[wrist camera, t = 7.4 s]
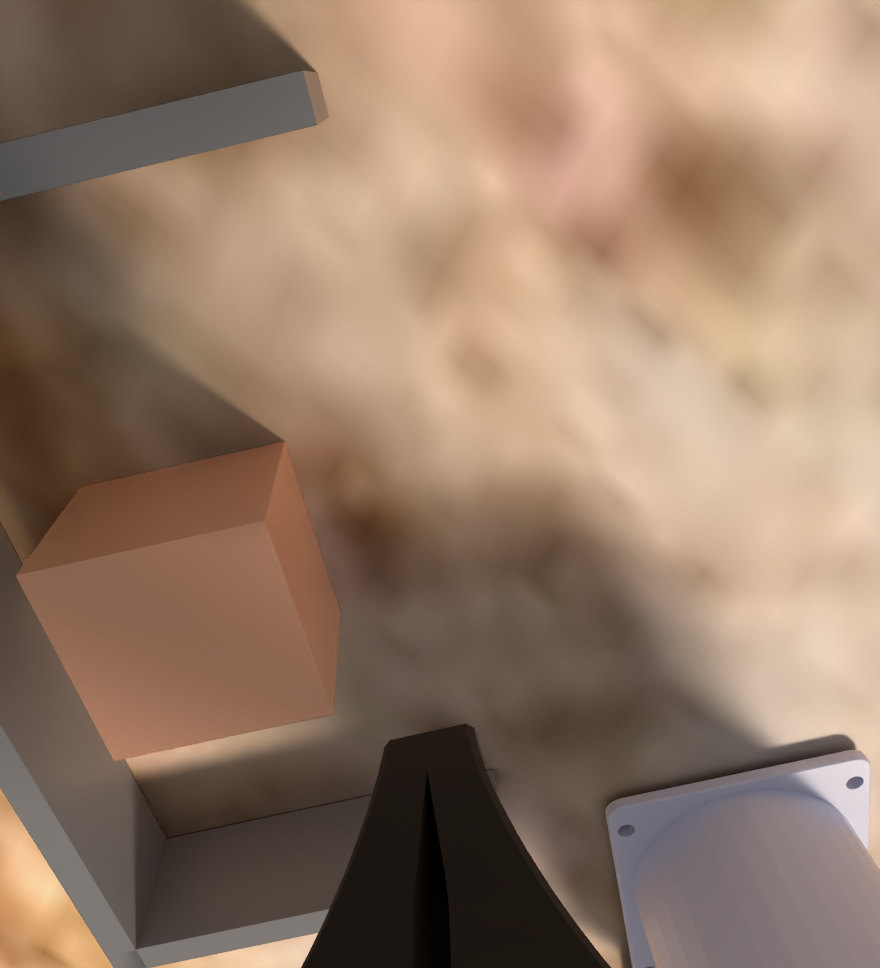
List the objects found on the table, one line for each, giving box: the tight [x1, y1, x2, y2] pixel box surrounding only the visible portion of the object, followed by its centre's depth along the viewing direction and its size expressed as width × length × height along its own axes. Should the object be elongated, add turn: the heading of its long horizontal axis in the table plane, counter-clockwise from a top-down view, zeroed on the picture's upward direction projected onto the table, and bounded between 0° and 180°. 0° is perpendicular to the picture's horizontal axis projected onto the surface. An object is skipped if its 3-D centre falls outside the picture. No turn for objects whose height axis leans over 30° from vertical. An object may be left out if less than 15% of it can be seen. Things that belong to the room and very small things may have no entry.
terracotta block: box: [16, 441, 340, 761], centre depth 19 cm, size 5×5×4 cm
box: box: [0, 70, 500, 968], centre depth 19 cm, size 20×11×4 cm, turn 12°
